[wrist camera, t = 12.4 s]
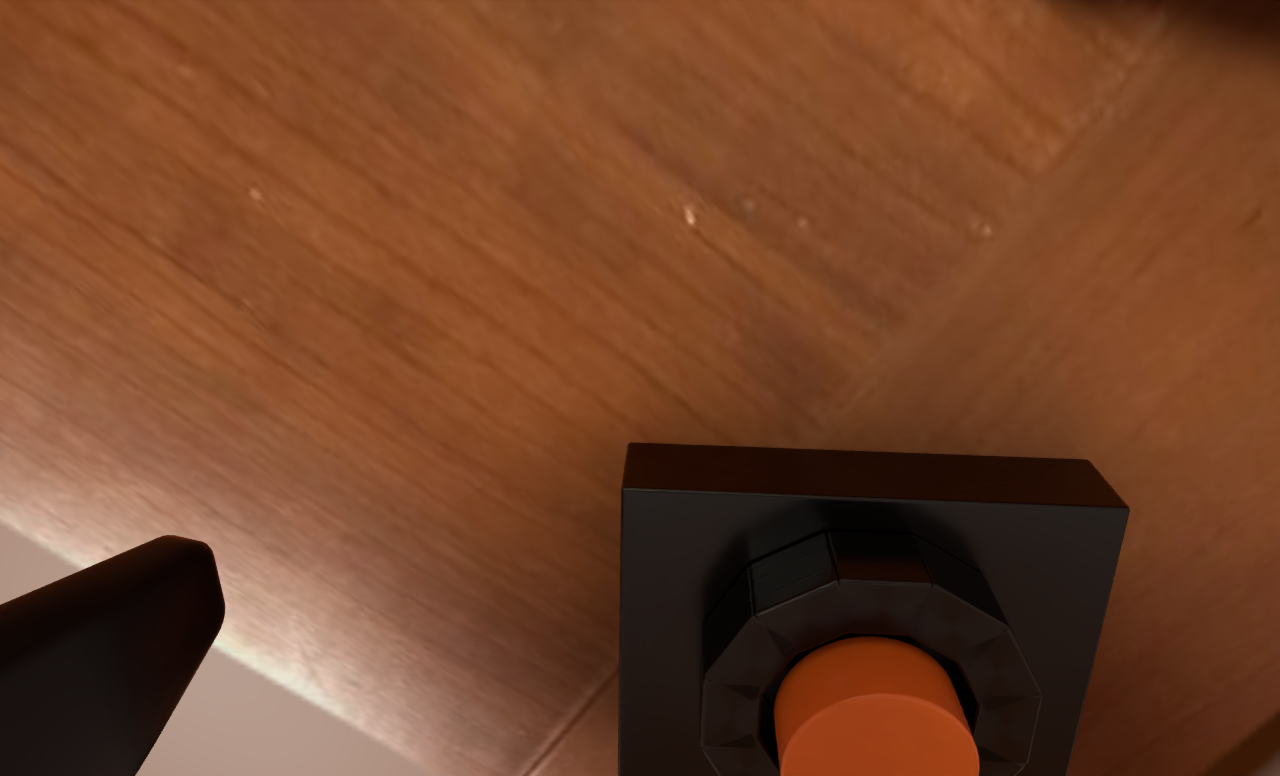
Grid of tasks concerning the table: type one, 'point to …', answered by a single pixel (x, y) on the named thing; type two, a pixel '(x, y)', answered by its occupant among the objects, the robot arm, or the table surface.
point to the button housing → (855, 592)
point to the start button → (871, 714)
